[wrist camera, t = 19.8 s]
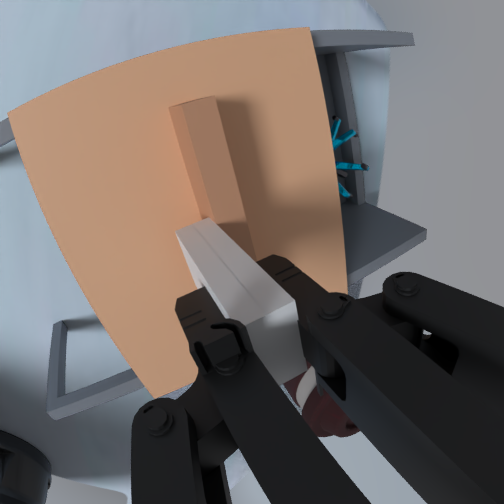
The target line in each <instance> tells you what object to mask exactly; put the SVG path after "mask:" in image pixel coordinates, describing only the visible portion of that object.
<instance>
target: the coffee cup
mask: <svg viewBox="0 0 504 504" xmlns="http://www.w3.org/2000/svg"><path fill="white" fill-rule="evenodd" d="M306 364H307V371H305V372H303V373H301V374H300V375H298V376H296V377H294V378H293V379H291V380H289V381H287V382H285V383H283V385H284V386H285V388H286V389H287V391H288V393H289V394H290V396H291V397H292V399H293V400H294V402H295V403H296V404H297V405H298V406H299V407H301V408H302V417H303V419H304V420H305V421H306V423H307V424H308V425H309V427H310V428H311V429H312V431H313V432H314V433H315V434H316V436H317V437H328V436H332V435H336V436H338V437H348V436H351V435H353V434H356V433H357V432H359V431H360V429H359V428H358V427H357V426H356V425H355V424H354V423H353V422H352V420H351V419H350V418H349V417H348V416H347V415H346V414H345V412H344V411H343V410H342V409H341V408H340V407H339V406H338V404H337V403H336V402H335V401H334V400H333V399H332V398H331V396H330V395H329V394H328V393H327V392H326V391H325V389H324V388H323V394H324V395H322V396H321V397H320V395H319V393H318V391H317V383H316V376H315V369H314V368H313V366H312V365H311V364H310V363H309V362H308V361H307V360H306Z"/></svg>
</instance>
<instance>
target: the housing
mask: <svg viewBox="0 0 504 504" xmlns="http://www.w3.org/2000/svg"><path fill="white" fill-rule="evenodd" d="M310 32H311V36H312V41H313V45H314V49H315V54H316V58H317V63H318V68H319V72H320V77H321V82H322V87H323V92H324V98H325V103H326V109H327V114H328V120H329V126H330V130H331V128H332V125H333V123H334V120H333V119H332V116H334V115H335V116H337V117H338V118H339V119H341V122H340V125H339V128H338V131H337V134H336V137H335V139H336V138H338V137H340V136H341V135H343V134H344V133H346V132H348V131H349V130H351V129H353V130H354V131H356V132H357V133H358V129H357V122H356V115H355V108H354V102H353V96H352V90H351V84H350V79H349V74H348V68H347V63H346V58H345V53H344V52H349V51H357V50H366V49H375V48H386V47H399V46H414V45H415V44H414V39H413V34H412V33H408V32H396V31H380V30H314V31H310ZM14 139H15V137H14V134H13V131H12V128H11V124H10V121H9V118H6V119H5V120H3V121H1V122H0V147H2V146H3V145H5V144H7V143H9V142H10V141H12V140H14ZM333 152H334V158H335V161H339V162H347V163H356V164H362V161H361V152H360V144H359V136H358V137H354V136H352V137H351V138H350V139H348V140H347V141H346V142H344V143H343V144H342V145H341V146H339V147H338V148H337V149H335V150H334V151H333ZM345 171H347V177H346V178H341V177H338V176H337V180H338V182H339V183H340V184H341V185H342V186H343V187H344V188H345V189H346V190H347V192H348V193H351V194H352V195H353V197H352V198H351V199H349V198H346V197H344V196H343V195H342V194H340V193H339V197H340V206H341V215H342V225H343V235H344V246H345V259H346V273H347V287H348V286H350V285H352V284H354V283H355V282H357V281H359V280H360V279H362V278H364V277H366V276H367V275H369V274H371V273H372V272H374V271H376V270H377V269H379V268H381V267H382V266H384V265H386V264H387V263H389V262H391V261H392V260H394V259H396V258H397V257H399V256H400V255H402V254H404V253H405V252H407V251H408V250H410V249H412V248H413V247H415V246H416V245H418V244H420V243H421V242H423V241H424V240H426V233H427V229H425V228H423V227H421V226H419V225H417V224H414V223H412V222H410V221H407V220H405V219H403V218H401V217H399V216H396V215H394V214H391V213H389V212H387V211H384V210H382V209H380V208H377V207H375V206H373V205H370V204H368V203H365V192H364V181H363V171H362V170H345ZM66 343H67V327H66V326H65V324H64V323H63V321H60V322H58V323H55V324H53V332H52V340H51V348H50V358H49V369H48V383H47V405H46V413H47V414H48V415H49V416H50V417H51V418H53V419H54V420H55V421H56V420H59V419H62V418H65V417H67V416H70V415H73V414H76V413H79V412H81V411H84V410H87V409H90V408H92V407H95V406H98V405H100V404H103V403H105V402H108V401H111V400H113V399H116V398H118V397H121V396H123V395H126V394H128V393H131V392H133V391H136V390H138V389H141V388H143V387H145V386H144V385H143V383H142V382H141V381H140V379H139V378H138V376H137V375H136V374H135V372H134V371H133V370H132V368H131V369H129V370H126V371H124V372H122V373H119V374H117V375H114V376H112V377H109V378H107V379H105V380H102V381H100V382H97V383H95V384H92V385H90V386H87V387H84V388H82V389H79V390H77V391H74V392H72V393H69V394H66V395H65V366H66Z"/></svg>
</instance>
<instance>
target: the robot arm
mask: <svg viewBox="0 0 504 504" xmlns="http://www.w3.org/2000/svg"><path fill="white" fill-rule="evenodd" d="M175 233H176V236H177V238H178V241H179V244H180V246H181V249H182V251H183V254H184V257H185V259H186V262H187V265H188V267H189V270H190V272H191V275H192V277H193V280H194V282H195V285H196V287H197V290H195V291H193V292H190V293H188V294H186V295H184V296H181V297H179V298H177V300H176V305H175V312H176V315H177V317H178V319H179V322H180V324H181V326H182V329H183V331H184V333H185V336H186V338H187V340H188V343H189V351H190V354H191V356H192V358H193V360H194V362H195V363H196V365H197V367H198V374H197V377H196V380H195V381H194V383H193V385H192V386H191V387H190V388H189V389H188V390H187V391H186V392H185V393H184V394H182V395H181V396H180V397H179V398H178V399H176V400H174V399H171V398H157V399H155V400H152V401H149V402H148V403H146V404H145V405H144V406H142V407H141V408H140V409H139V410H138V412H137V413H136V415H135V416H134V420H133V424H132V439H131V495H132V504H232V502H231V496H230V491H229V486H228V481H227V476H226V470H225V465H224V461H225V460H226V459H227V458H228V457H229V456H230V455H232V454H233V453H234V452H235V451H236V450H237V449H238V448H239V449H240V451H241V453H242V455H243V456H244V458H245V460H246V462H247V464H248V465H249V467H250V469H251V470H252V472H253V474H254V476H255V477H256V479H257V481H258V483H259V484H260V486H261V487H262V489H263V491H264V493H265V494H266V496H267V498H268V499H269V501H270V503H271V504H371V503H370V502H369V500H368V499H367V498H366V497H365V496H364V494H363V493H362V492H361V491H360V490H359V488H358V487H357V486H356V485H355V483H354V482H353V481H352V480H351V479H350V477H349V476H348V475H347V474H346V473H345V471H344V470H343V469H342V468H341V466H340V465H339V464H338V463H337V461H336V460H335V459H334V457H333V456H332V455H331V454H330V453H329V451H328V450H327V449H326V447H325V446H324V445H323V444H322V442H321V441H320V440H319V438H318V437H317V436H316V434H315V433H314V432H313V431H312V429H311V428H310V427H309V425H308V424H307V423H306V421H305V420H304V419H303V417H302V416H301V415H300V413H299V412H298V411H297V409H296V408H295V407H294V405H293V404H292V403H291V401H290V400H289V399H288V397H287V396H286V395H285V393H284V392H283V391H282V389H281V388H280V385H281V384H283V383H285V382H287V381H289V380H291V379H293V378H294V377H296V376H298V375H300V374H301V373H303V372H305V371H307V364H306V360H307V361H308V362H309V363H310V364H311V365H312V366H313V368H314V369H315V376H316V383H317V391H318V393H319V395H320V397H321V396H322V395H324V394H323V388H324V389H325V391H326V392H327V393H328V394H329V395H330V396H331V398H332V399H333V400H334V401H335V402H336V403H337V404H338V406H339V407H340V408H341V409H342V410H343V411H344V412H345V414H346V415H347V416H348V417H349V418H350V419H351V420H352V422H353V423H354V424H355V425H356V426H357V427H358V428H359V429H360V431H361V432H362V433H363V434H364V435H365V436H366V437H367V438H368V440H369V441H370V442H371V443H372V444H373V445H374V446H375V447H376V449H377V450H378V451H379V452H380V453H381V454H382V455H383V456H384V457H385V458H386V460H387V461H388V462H389V463H390V464H391V465H392V466H393V467H394V468H395V469H396V471H397V472H398V473H399V474H400V475H401V476H402V477H403V478H404V479H405V480H406V481H407V482H408V484H410V486H411V487H412V488H413V489H414V490H415V491H416V492H417V493H418V494H419V495H420V496H421V497H422V498H423V500H424V501H425V502H426V503H427V504H504V307H502V306H499V305H496V304H494V303H492V302H489V301H487V300H484V299H482V298H479V297H477V296H474V295H472V294H469V293H467V292H464V291H461V290H459V289H456V288H454V287H451V286H449V285H446V284H443V283H441V282H438V281H435V280H433V279H430V278H427V277H425V276H422V275H420V274H417V273H412V272H399V273H395V274H392V275H391V276H389V277H388V278H386V280H385V281H384V283H383V292H382V293H379V294H375V295H372V296H369V297H365V298H360V299H354V298H353V297H351V296H349V295H347V294H345V293H339V292H330V293H329V292H328V291H326V290H325V289H324V288H323V287H321V286H320V285H319V284H318V283H316V282H315V281H314V280H313V279H312V278H310V277H309V276H308V275H307V274H305V273H304V272H302V270H300V269H299V268H298V267H297V266H296V267H295V265H294V264H293V263H292V262H291V261H289V260H288V259H287V258H285V257H281V256H278V255H274V254H272V255H270V256H268V257H266V258H263V259H261V260H259V261H257V262H255V261H254V260H253V259H252V258H251V257H250V256H249V255H248V254H247V253H246V252H244V251H243V250H242V249H241V248H240V247H239V246H238V245H237V244H236V243H235V242H234V241H233V240H232V239H231V238H230V237H229V236H228V235H227V234H226V233H225V232H224V231H223V230H222V229H221V228H220V227H219V226H218V225H217V224H216V223H215V222H213V221H212V220H211V219H210V218H209V217H208V218H206V219H203V220H201V221H198V222H196V223H193V224H191V225H189V226H186V227H184V228H181V229H179V230H176V231H175ZM423 330H426V331H428V332H430V333H432V334H431V335H425V334H423ZM50 485H51V467H50V464H49V462H48V460H47V459H46V457H45V456H44V455H43V454H42V453H41V452H40V451H38V450H37V449H36V448H34V447H33V446H32V445H30V444H28V443H27V442H25V441H23V440H21V439H19V438H17V437H15V436H12V435H10V434H7V433H5V432H2V431H0V504H45V502H46V498H47V491H48V489H49V488H50Z"/></svg>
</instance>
